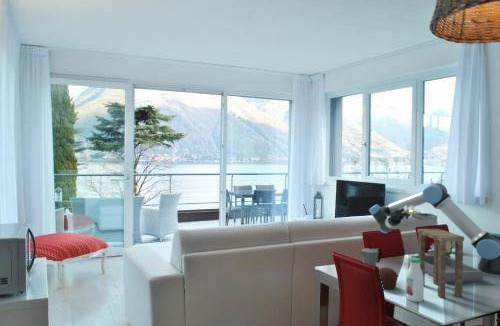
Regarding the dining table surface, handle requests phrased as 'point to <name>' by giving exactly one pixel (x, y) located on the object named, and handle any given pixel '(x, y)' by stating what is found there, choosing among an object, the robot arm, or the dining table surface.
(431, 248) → the passion flower
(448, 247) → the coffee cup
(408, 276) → the milk bottle
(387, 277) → the muffin
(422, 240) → the stool
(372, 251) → the coffeepot
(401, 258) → the dining table surface
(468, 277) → the tray
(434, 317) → the dining table surface
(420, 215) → the hand shovel
